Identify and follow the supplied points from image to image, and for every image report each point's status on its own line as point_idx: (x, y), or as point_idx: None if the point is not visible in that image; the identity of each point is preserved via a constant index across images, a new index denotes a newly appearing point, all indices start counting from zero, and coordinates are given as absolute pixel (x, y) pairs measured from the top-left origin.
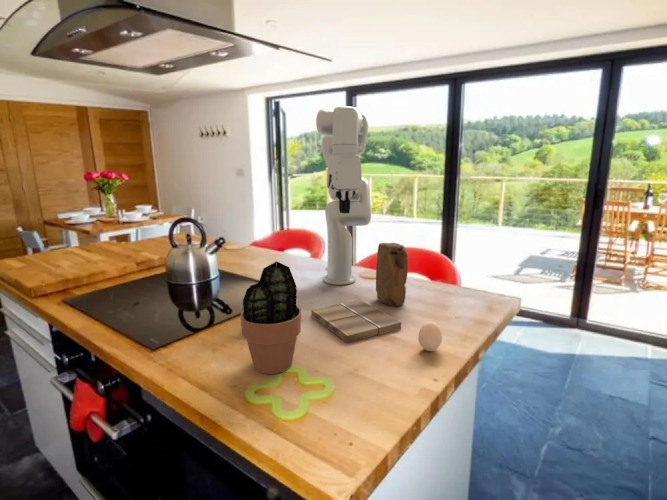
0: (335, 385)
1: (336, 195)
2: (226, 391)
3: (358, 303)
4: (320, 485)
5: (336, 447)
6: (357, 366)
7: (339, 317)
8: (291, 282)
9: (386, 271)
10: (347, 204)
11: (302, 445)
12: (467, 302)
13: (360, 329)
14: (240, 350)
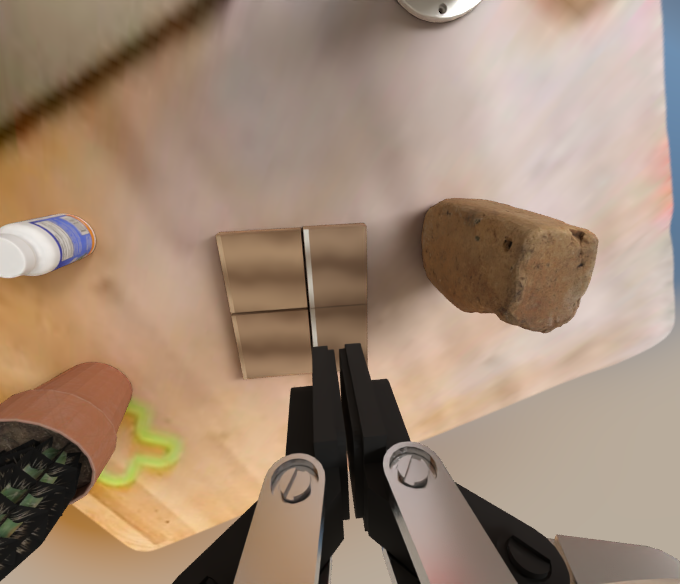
0: (183, 454)
1: (217, 562)
2: None
3: (347, 249)
4: (127, 544)
5: (152, 522)
6: (230, 429)
7: (264, 304)
8: (20, 551)
9: (455, 281)
10: (351, 480)
11: (119, 513)
12: (577, 313)
13: (278, 366)
14: (36, 325)
